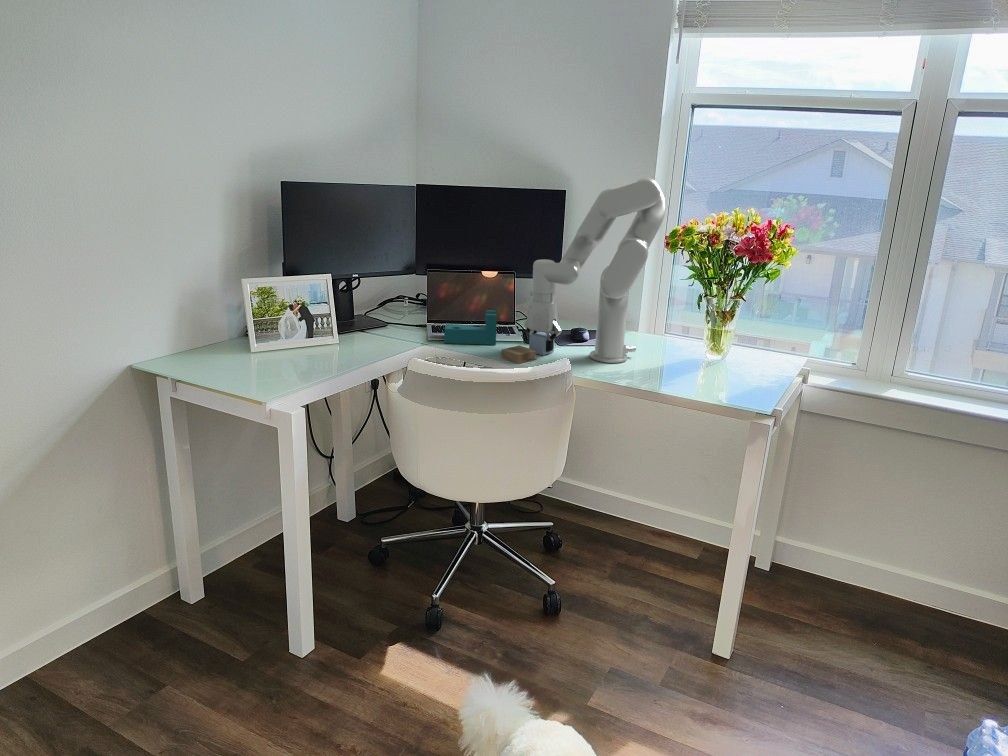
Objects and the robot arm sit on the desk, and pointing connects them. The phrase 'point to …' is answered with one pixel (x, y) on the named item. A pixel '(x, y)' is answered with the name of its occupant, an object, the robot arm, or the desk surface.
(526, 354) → the walnut base
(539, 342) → the blue cube
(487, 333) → the teal l-shaped bracket
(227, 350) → the desk surface
